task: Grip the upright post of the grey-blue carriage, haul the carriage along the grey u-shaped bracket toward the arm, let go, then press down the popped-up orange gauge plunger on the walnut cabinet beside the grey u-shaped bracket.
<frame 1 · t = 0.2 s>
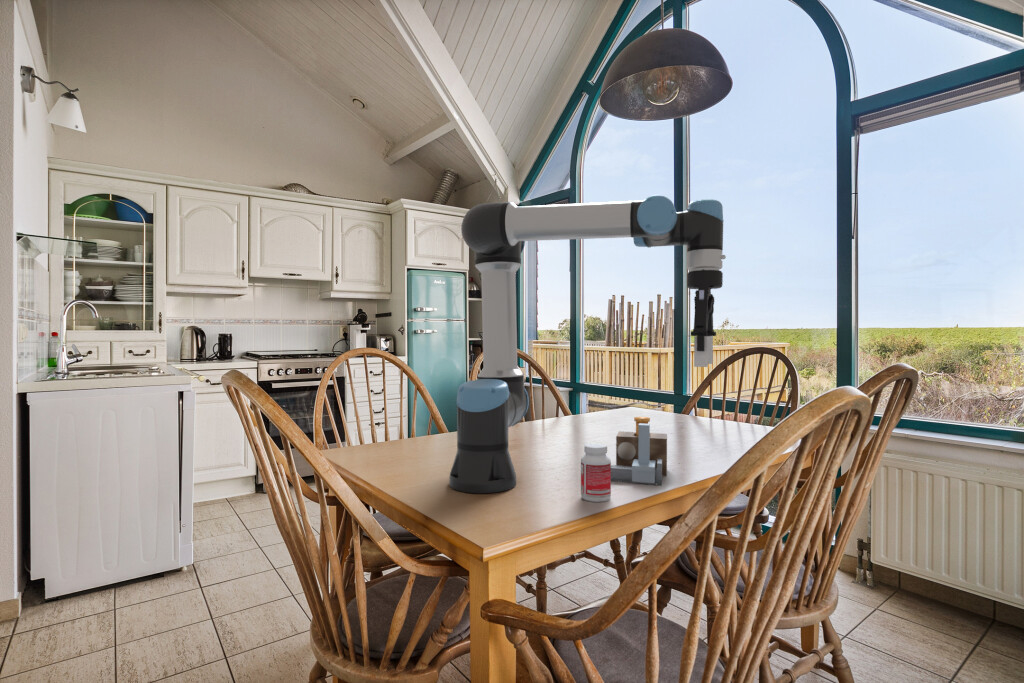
hand: (703, 365, 121), 27 cm above the table, fingers open, 13 cm apart
grey u-shaped bracket: (624, 480, 126), on the table
gauge plunger: (641, 431, 135), point 10 cm above the table, slide at 0.0 cm
cabinet: (641, 470, 135), on the table
carriage: (644, 451, 125), point 7 cm above the table, slide at 0.0 cm
pill bottle: (595, 499, 112), on the table
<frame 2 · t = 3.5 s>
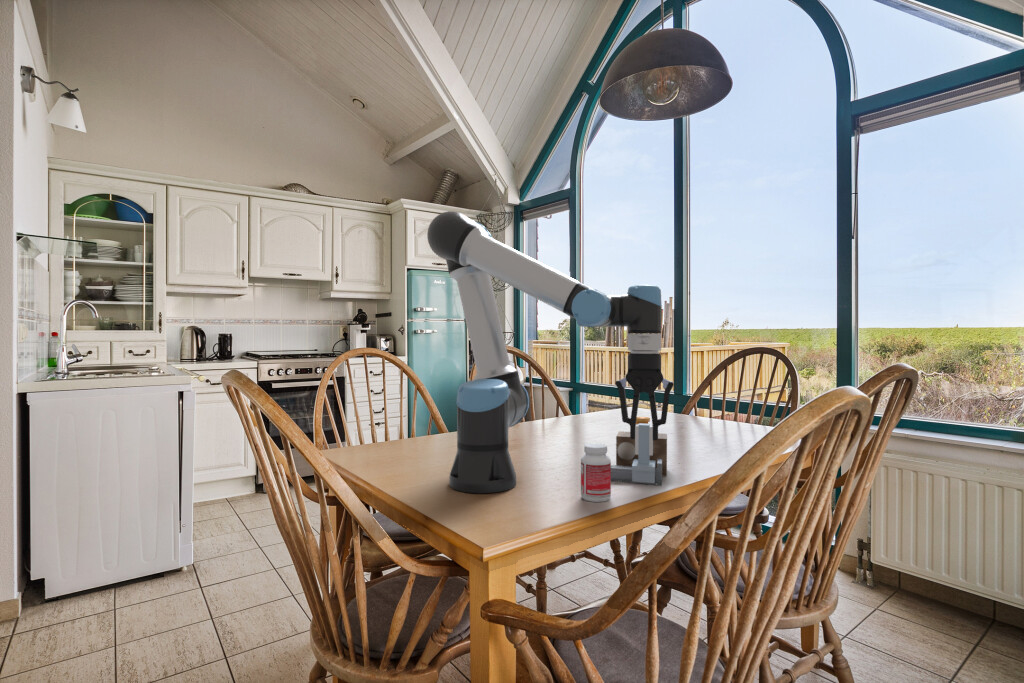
hand: (644, 453, 125), 7 cm above the table, fingers closed on carriage, 2 cm apart
carriage: (644, 451, 125), point 7 cm above the table, slide at 0.0 cm, touching gripper
everything else where it was.
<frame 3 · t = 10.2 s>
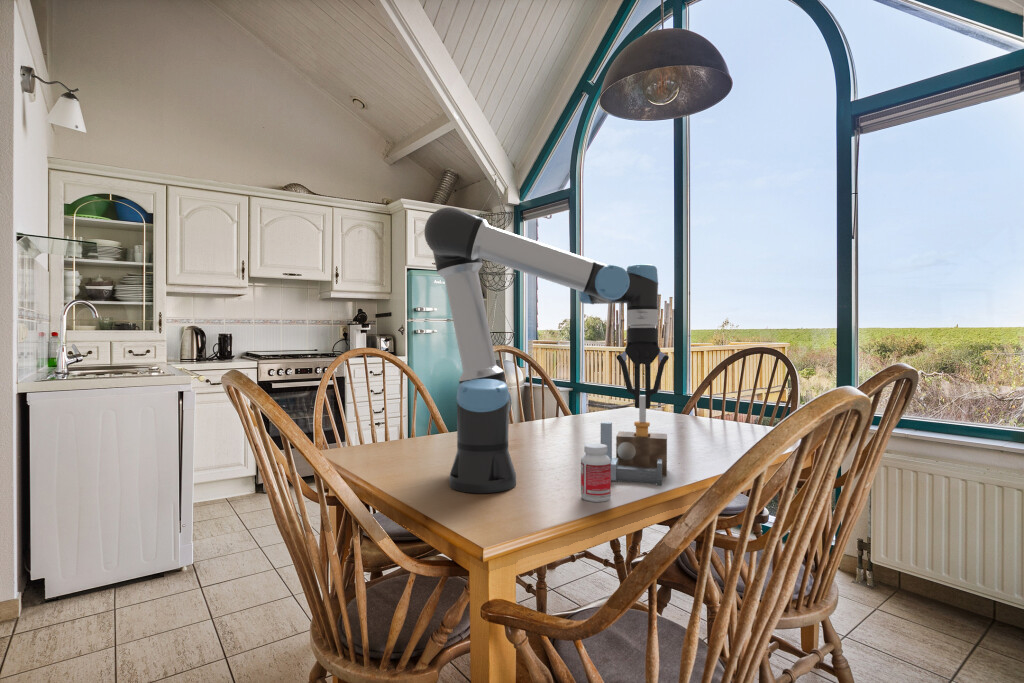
hand: (642, 421, 135), 12 cm above the table, fingers closed
gauge plunger: (641, 436, 135), point 9 cm above the table, slide at 1.2 cm, touching gripper
carriage: (606, 449, 127), point 7 cm above the table, slide at 8.7 cm
everything else where it was.
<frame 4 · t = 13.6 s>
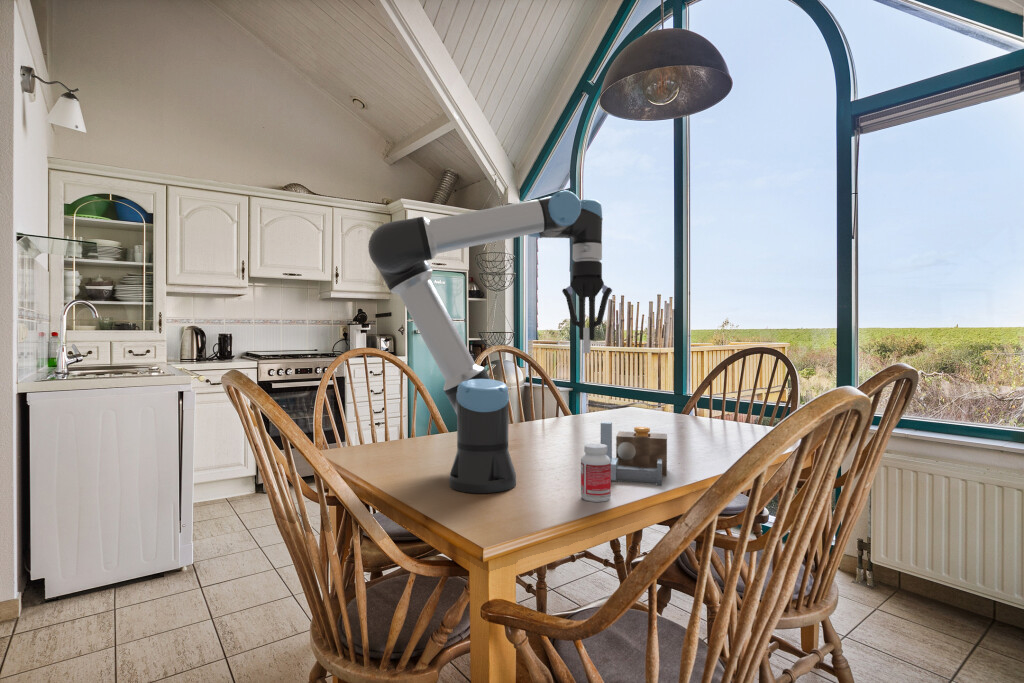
hand: (586, 352, 140), 29 cm above the table, fingers closed
gauge plunger: (641, 441, 135), point 7 cm above the table, slide at 2.6 cm
everything else where it was.
at the end: carriage slide at 8.7 cm; gauge plunger slide at 2.6 cm; the gripper is holding nothing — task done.
